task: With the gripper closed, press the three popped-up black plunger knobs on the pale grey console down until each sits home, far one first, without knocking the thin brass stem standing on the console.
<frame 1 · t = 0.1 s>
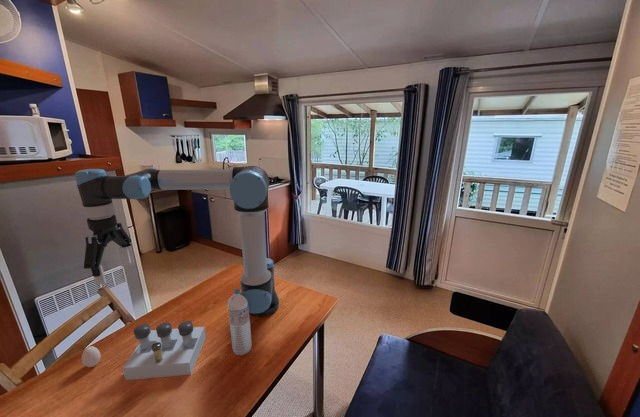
hand: (115, 272, 92), 28 cm above the table, fingers open, 13 cm apart
egg: (93, 365, 88), on the table
knob far: (143, 337, 88), point 9 cm above the table, slide at 4.0 cm
water bottle: (242, 349, 95), on the table
console: (169, 356, 91), on the table
knob near: (186, 334, 90), point 9 cm above the table, slide at 4.0 cm
knob mid: (165, 335, 89), point 9 cm above the table, slide at 4.0 cm
pot stem: (159, 360, 84), point 5 cm above the table, touching console
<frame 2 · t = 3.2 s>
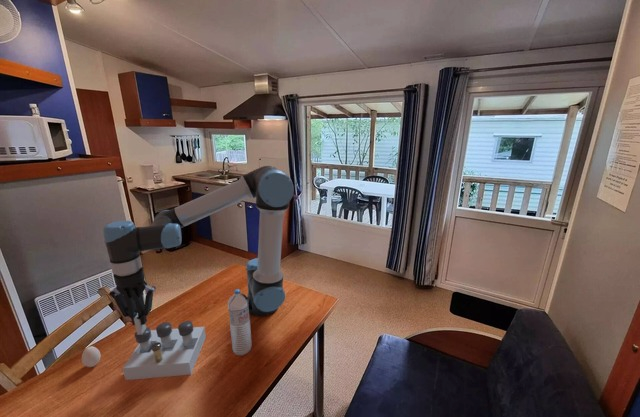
hand: (141, 331, 87), 12 cm above the table, fingers closed
knob far: (144, 340, 88), point 8 cm above the table, slide at 2.4 cm, touching gripper
everything else where it was.
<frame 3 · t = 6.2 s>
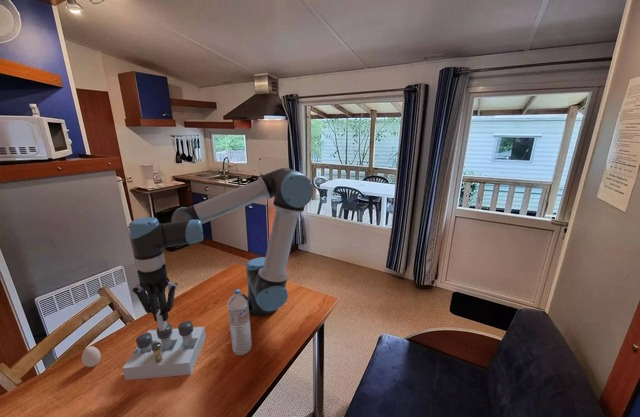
hand: (163, 328, 88), 12 cm above the table, fingers closed
knob far: (145, 346, 89), point 5 cm above the table, slide at 0.1 cm
knob mid: (165, 337, 89), point 9 cm above the table, slide at 3.3 cm, touching gripper
everything else where it was.
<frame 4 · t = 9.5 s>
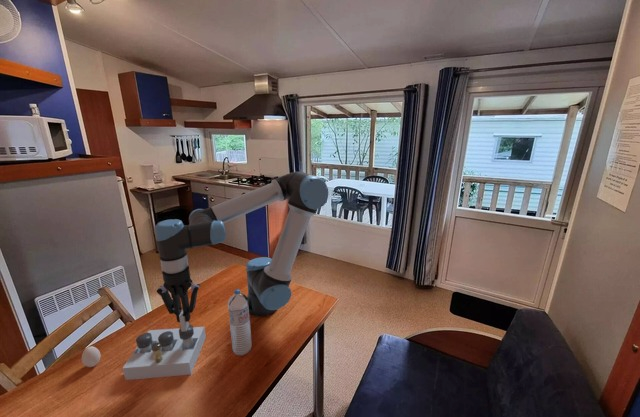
hand: (185, 328, 89), 12 cm above the table, fingers closed
knob near: (187, 337, 90), point 8 cm above the table, slide at 2.5 cm, touching gripper
knob mid: (167, 344, 90), point 5 cm above the table, slide at 0.1 cm
everything else where it was.
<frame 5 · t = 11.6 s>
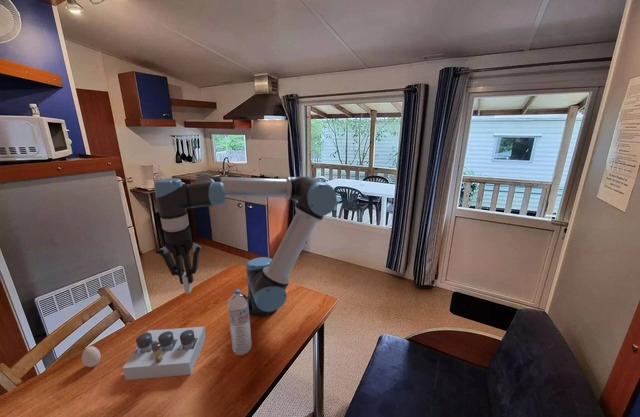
hand: (188, 290, 89), 24 cm above the table, fingers closed
knob near: (188, 343, 91), point 5 cm above the table, slide at 0.1 cm
everything else where it was.
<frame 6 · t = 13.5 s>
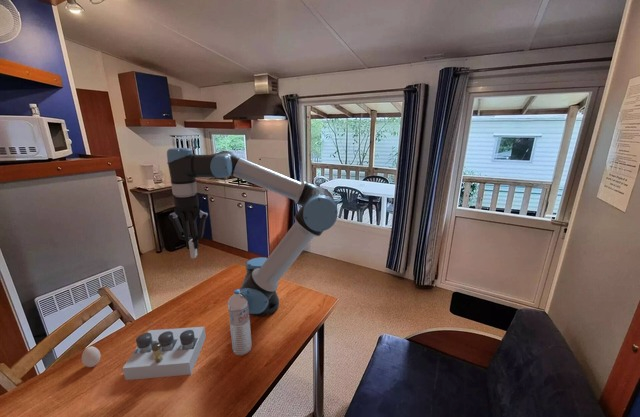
hand: (194, 256, 95), 32 cm above the table, fingers closed
nothing on the table moved.
at the end: knob far slide at 0.1 cm; knob mid slide at 0.1 cm; knob near slide at 0.1 cm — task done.
